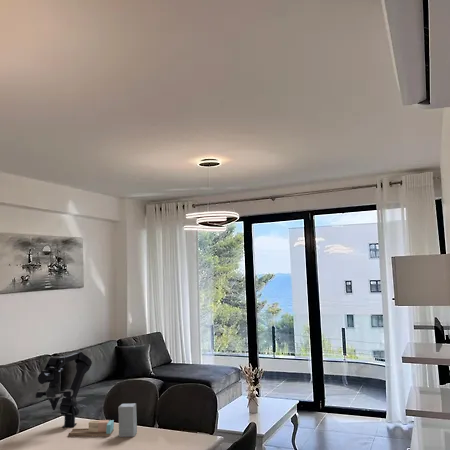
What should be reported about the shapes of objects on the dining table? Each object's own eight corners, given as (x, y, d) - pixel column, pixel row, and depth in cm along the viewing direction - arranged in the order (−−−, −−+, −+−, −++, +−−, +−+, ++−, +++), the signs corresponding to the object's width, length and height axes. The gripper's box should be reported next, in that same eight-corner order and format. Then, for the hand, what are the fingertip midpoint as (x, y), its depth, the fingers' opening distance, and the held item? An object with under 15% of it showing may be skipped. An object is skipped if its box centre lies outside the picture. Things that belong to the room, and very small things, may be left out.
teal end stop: (109, 428, 253) (110, 420, 254) (113, 428, 253) (113, 420, 254) (106, 433, 244) (106, 425, 245) (110, 433, 244) (110, 425, 245)
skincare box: (137, 433, 248) (137, 402, 250) (133, 437, 241) (133, 406, 243) (121, 433, 249) (122, 402, 251) (117, 437, 242) (118, 406, 244)
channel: (73, 431, 252) (73, 428, 252) (113, 430, 253) (113, 427, 253) (68, 437, 243) (68, 433, 244) (110, 436, 244) (110, 432, 244)
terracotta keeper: (99, 429, 251) (100, 420, 251) (109, 429, 251) (109, 420, 252) (97, 432, 246) (98, 422, 247) (107, 432, 246) (107, 422, 247)
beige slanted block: (90, 430, 250) (90, 420, 251) (99, 429, 251) (100, 420, 251) (88, 432, 246) (88, 422, 247) (97, 432, 246) (98, 422, 247)
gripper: (32, 383, 245) (31, 414, 243) (68, 382, 246) (67, 413, 244) (39, 379, 256) (38, 409, 254) (73, 378, 257) (72, 408, 255)
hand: (53, 410), depth 252 cm, fingers closed
